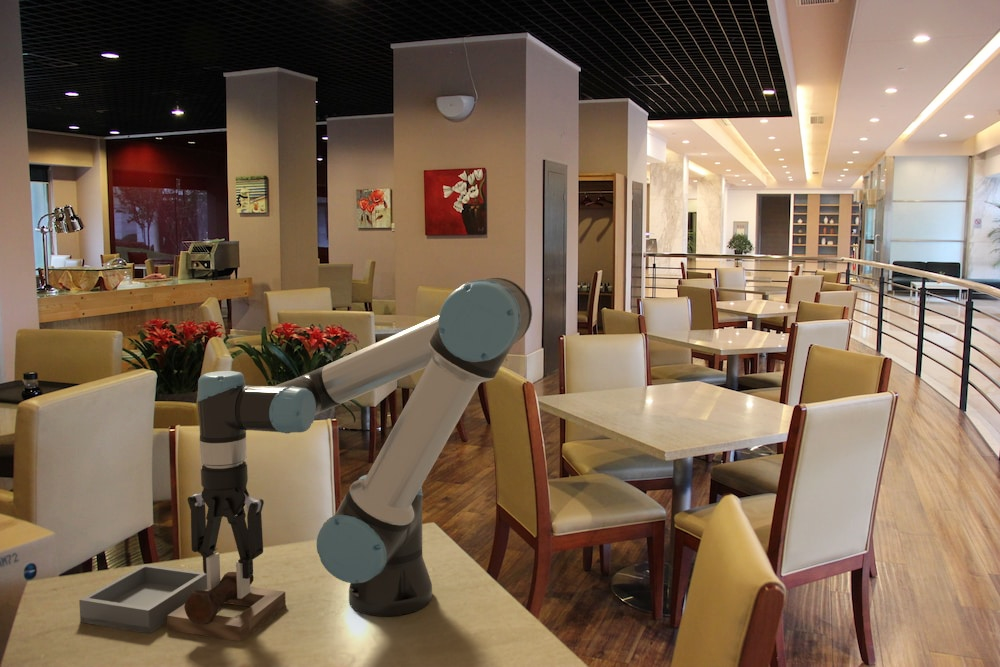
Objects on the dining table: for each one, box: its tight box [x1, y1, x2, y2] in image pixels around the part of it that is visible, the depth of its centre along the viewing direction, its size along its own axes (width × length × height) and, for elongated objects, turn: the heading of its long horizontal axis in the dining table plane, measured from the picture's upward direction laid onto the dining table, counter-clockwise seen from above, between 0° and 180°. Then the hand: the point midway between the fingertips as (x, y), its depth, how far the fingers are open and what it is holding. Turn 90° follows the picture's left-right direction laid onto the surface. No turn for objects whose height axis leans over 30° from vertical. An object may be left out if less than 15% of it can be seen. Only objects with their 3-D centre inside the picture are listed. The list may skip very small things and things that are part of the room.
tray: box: [78, 563, 207, 634], centre depth 144 cm, size 14×16×4 cm
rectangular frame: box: [166, 586, 287, 642], centre depth 141 cm, size 14×14×2 cm
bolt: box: [184, 571, 254, 624], centre depth 139 cm, size 6×5×15 cm
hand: (228, 592), depth 141 cm, fingers closed on bolt, 5 cm apart
